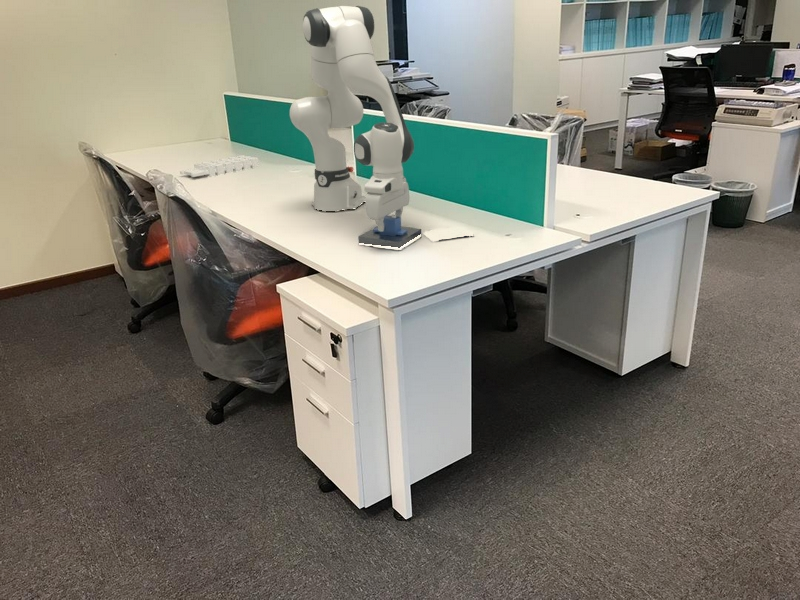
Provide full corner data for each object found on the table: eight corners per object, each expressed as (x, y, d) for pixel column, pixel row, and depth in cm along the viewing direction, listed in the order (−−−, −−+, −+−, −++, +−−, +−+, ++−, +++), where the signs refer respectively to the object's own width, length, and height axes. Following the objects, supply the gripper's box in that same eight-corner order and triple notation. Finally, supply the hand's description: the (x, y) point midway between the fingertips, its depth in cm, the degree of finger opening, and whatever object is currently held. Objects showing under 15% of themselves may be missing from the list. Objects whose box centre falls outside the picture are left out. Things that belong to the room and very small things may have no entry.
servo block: (379, 237, 194) (378, 211, 190) (407, 241, 189) (407, 215, 186) (373, 241, 191) (372, 214, 188) (402, 245, 186) (401, 218, 183)
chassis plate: (382, 232, 199) (381, 223, 198) (421, 237, 192) (421, 228, 191) (358, 245, 187) (358, 236, 186) (399, 251, 181) (399, 242, 180)
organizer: (258, 157, 301) (192, 170, 277) (259, 167, 303) (194, 181, 279) (242, 155, 309) (177, 167, 286) (243, 164, 311) (179, 177, 288)
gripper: (395, 173, 192) (397, 216, 198) (360, 187, 176) (363, 234, 181) (414, 174, 190) (415, 218, 195) (380, 189, 173) (382, 237, 179)
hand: (389, 226), depth 188 cm, fingers open, 8 cm apart
